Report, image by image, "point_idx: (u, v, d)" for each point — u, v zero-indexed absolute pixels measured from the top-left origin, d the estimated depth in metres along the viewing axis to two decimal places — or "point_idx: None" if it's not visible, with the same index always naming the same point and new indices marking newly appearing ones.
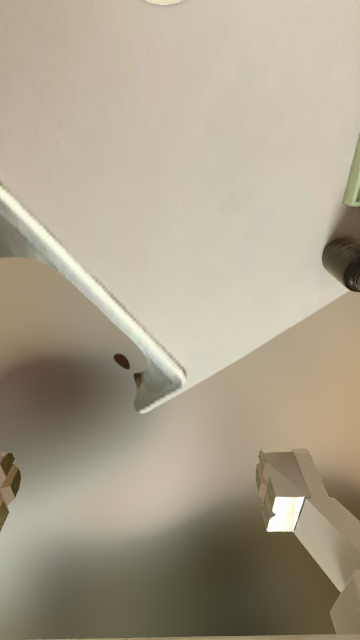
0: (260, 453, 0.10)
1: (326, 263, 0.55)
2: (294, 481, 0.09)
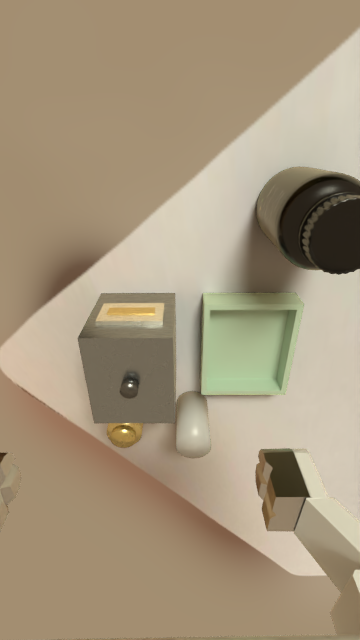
0: (260, 453, 0.10)
1: None
2: (294, 481, 0.09)
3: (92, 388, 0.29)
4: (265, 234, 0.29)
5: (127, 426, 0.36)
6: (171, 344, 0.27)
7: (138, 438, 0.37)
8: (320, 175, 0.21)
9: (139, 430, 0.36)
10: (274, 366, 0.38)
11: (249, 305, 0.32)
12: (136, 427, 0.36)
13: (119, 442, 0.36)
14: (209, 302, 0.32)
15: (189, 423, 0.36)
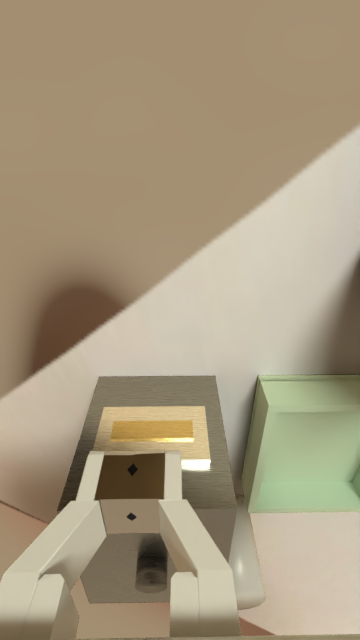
0: None
1: None
2: (153, 483, 0.09)
3: (85, 568, 0.17)
4: None
5: None
6: (232, 516, 0.14)
7: None
8: None
9: None
10: (352, 467, 0.26)
11: (340, 406, 0.20)
12: None
13: None
14: (275, 399, 0.20)
15: (232, 562, 0.24)
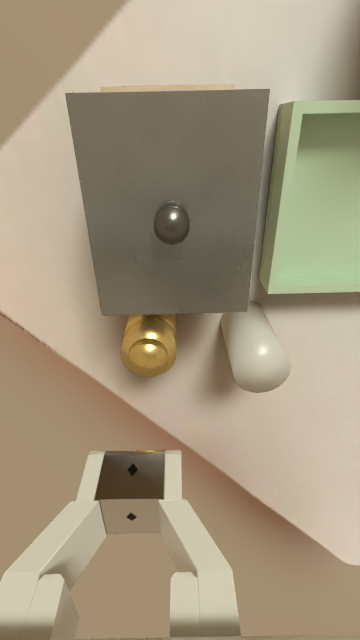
0: None
1: None
2: (153, 483, 0.09)
3: (98, 233, 0.15)
4: None
5: (154, 340, 0.22)
6: (264, 108, 0.13)
7: (171, 363, 0.23)
8: None
9: (173, 348, 0.22)
10: None
11: None
12: (168, 343, 0.22)
13: (141, 367, 0.22)
14: (300, 101, 0.18)
15: (253, 336, 0.23)
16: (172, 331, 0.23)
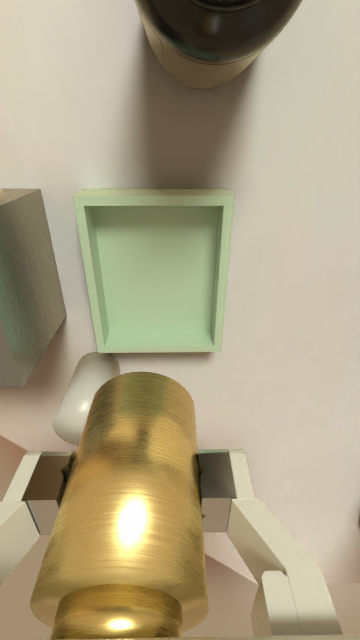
0: None
1: None
2: (223, 482, 0.09)
3: None
4: (156, 54, 0.17)
5: (139, 593, 0.06)
6: None
7: (190, 622, 0.08)
8: None
9: (201, 600, 0.07)
10: (206, 312, 0.26)
11: (145, 197, 0.20)
12: (184, 592, 0.07)
13: None
14: (83, 194, 0.20)
15: (75, 393, 0.24)
16: (195, 518, 0.08)
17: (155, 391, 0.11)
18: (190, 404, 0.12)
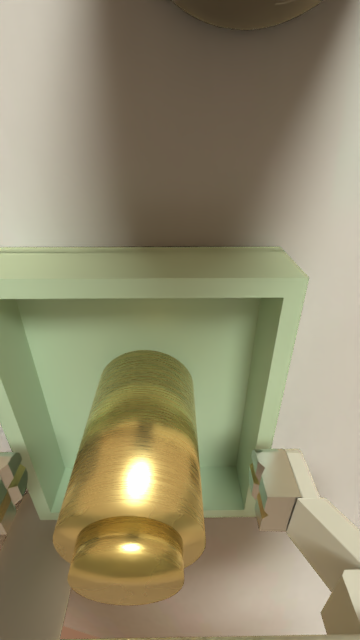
0: (253, 453, 0.10)
1: None
2: (286, 481, 0.09)
3: None
4: None
5: (147, 523, 0.08)
6: None
7: (190, 558, 0.09)
8: None
9: (199, 533, 0.08)
10: (229, 442, 0.15)
11: (108, 282, 0.09)
12: (185, 525, 0.08)
13: (110, 592, 0.08)
14: None
15: None
16: (194, 470, 0.09)
17: (158, 366, 0.12)
18: (189, 379, 0.13)
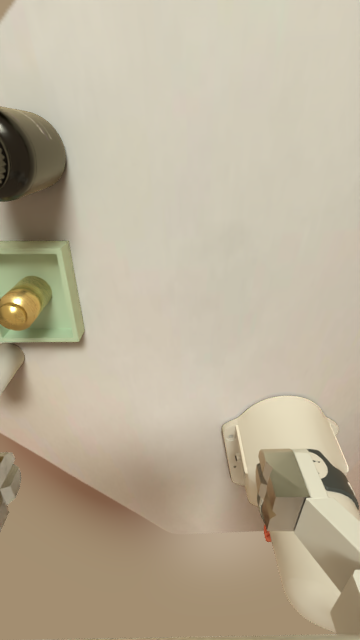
0: (260, 453, 0.10)
1: (57, 144, 0.29)
2: (294, 481, 0.09)
3: None
4: None
5: (15, 303, 0.33)
6: None
7: (30, 321, 0.34)
8: None
9: (30, 310, 0.33)
10: None
11: (9, 249, 0.34)
12: (25, 306, 0.33)
13: (7, 322, 0.33)
14: None
15: None
16: (34, 300, 0.34)
17: (34, 279, 0.37)
18: (47, 286, 0.38)
